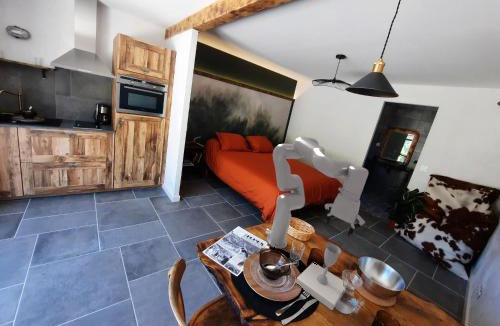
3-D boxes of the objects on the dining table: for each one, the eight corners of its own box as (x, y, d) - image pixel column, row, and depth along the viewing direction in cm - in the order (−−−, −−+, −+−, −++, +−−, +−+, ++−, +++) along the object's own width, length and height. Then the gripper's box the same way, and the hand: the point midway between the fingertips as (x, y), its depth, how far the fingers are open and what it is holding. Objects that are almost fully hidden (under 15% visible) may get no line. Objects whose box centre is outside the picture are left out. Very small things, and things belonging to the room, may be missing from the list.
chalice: (330, 288, 99) (342, 255, 95) (315, 283, 100) (326, 250, 96) (328, 277, 106) (339, 246, 101) (314, 272, 107) (325, 241, 103)
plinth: (295, 283, 102) (296, 278, 102) (311, 266, 116) (313, 261, 115) (332, 310, 92) (334, 305, 91) (345, 288, 105) (347, 283, 104)
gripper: (327, 188, 95) (317, 222, 100) (369, 205, 85) (355, 242, 89) (334, 185, 101) (323, 217, 106) (374, 201, 90) (360, 236, 95)
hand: (338, 229), depth 97 cm, fingers open, 9 cm apart
